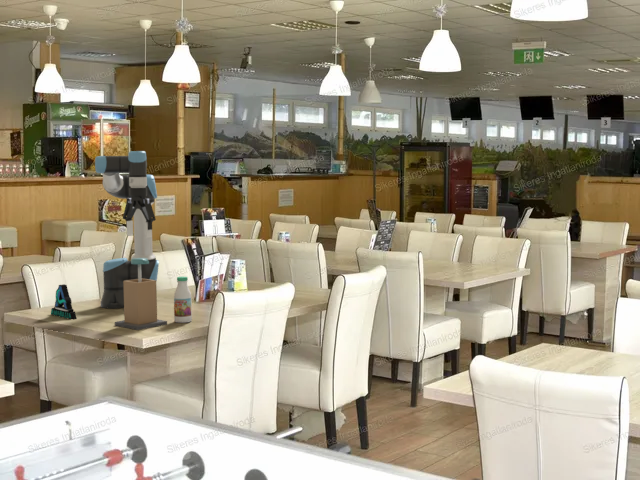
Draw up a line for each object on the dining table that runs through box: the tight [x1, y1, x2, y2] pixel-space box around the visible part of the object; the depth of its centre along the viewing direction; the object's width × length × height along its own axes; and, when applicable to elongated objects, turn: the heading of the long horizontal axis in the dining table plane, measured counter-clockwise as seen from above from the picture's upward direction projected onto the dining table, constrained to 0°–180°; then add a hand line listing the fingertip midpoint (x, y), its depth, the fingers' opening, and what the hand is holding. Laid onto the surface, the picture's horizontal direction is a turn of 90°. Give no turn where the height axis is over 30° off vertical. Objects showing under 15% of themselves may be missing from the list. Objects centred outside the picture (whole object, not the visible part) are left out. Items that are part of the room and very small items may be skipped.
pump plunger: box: [130, 258, 149, 282], centre depth 388 cm, size 10×7×19 cm
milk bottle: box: [173, 276, 193, 324], centre depth 397 cm, size 8×8×20 cm
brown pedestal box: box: [114, 278, 168, 331], centre depth 389 cm, size 16×16×20 cm
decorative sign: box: [50, 284, 77, 320], centre depth 411 cm, size 19×2×15 cm, turn 45°
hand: (139, 236), depth 387 cm, fingers open, 12 cm apart
